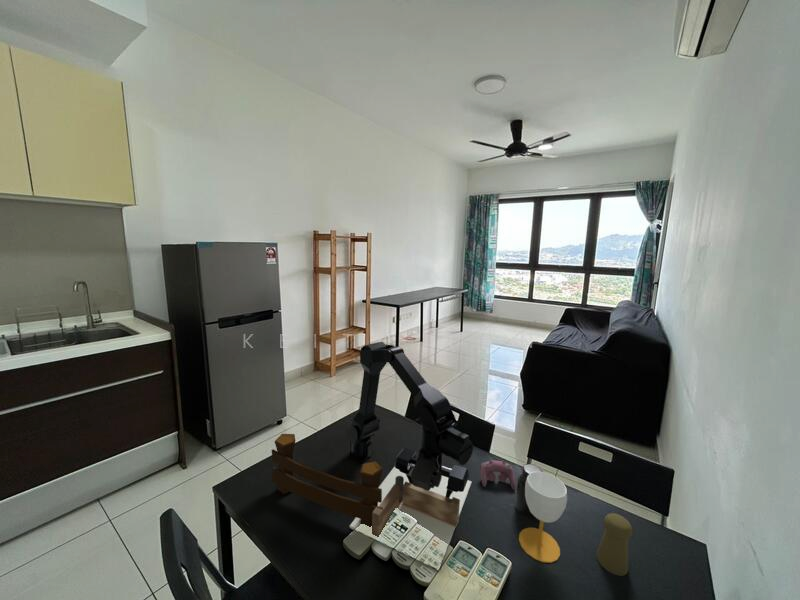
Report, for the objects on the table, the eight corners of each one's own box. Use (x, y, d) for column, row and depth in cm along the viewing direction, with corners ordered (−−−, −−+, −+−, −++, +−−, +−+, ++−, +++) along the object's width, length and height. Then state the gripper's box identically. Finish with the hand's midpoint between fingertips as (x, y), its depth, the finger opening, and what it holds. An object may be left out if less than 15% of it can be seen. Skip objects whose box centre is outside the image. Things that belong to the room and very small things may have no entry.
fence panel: (402, 503, 86) (403, 483, 85) (405, 498, 87) (406, 479, 86) (456, 525, 79) (457, 504, 78) (458, 520, 81) (459, 499, 80)
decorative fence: (269, 490, 89) (268, 440, 86) (284, 476, 94) (283, 429, 92) (378, 537, 76) (380, 480, 73) (389, 518, 81) (391, 465, 79)
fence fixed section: (371, 535, 76) (371, 511, 75) (396, 495, 88) (397, 474, 87) (379, 538, 75) (379, 514, 74) (404, 498, 88) (405, 477, 87)
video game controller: (512, 486, 97) (511, 461, 99) (517, 490, 92) (516, 463, 94) (479, 483, 97) (479, 458, 99) (482, 487, 93) (482, 460, 95)
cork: (590, 550, 75) (596, 508, 73) (614, 549, 76) (621, 508, 74) (608, 576, 69) (616, 532, 67) (635, 575, 70) (643, 530, 68)
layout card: (349, 527, 78) (349, 525, 78) (401, 458, 105) (401, 457, 105) (440, 571, 69) (440, 569, 69) (472, 483, 95) (472, 481, 95)
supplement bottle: (541, 504, 88) (546, 464, 86) (543, 523, 82) (549, 481, 80) (514, 497, 90) (519, 458, 88) (515, 515, 84) (519, 474, 82)
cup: (555, 532, 79) (562, 474, 77) (564, 567, 71) (574, 503, 68) (516, 524, 81) (522, 467, 79) (521, 557, 73) (528, 494, 70)
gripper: (385, 450, 79) (384, 505, 82) (459, 476, 71) (455, 535, 74) (404, 427, 89) (402, 476, 92) (471, 447, 81) (467, 500, 84)
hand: (429, 496), depth 85 cm, fingers open, 9 cm apart
